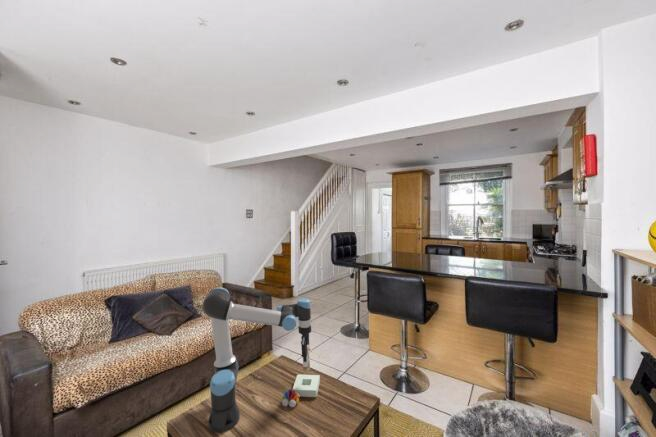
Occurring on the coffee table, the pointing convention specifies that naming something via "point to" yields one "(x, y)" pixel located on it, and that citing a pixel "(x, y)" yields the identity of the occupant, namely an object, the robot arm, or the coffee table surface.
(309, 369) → the peg
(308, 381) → the socket block
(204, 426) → the coffee table surface
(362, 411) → the coffee table surface
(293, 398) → the rainbow wheeled toy
